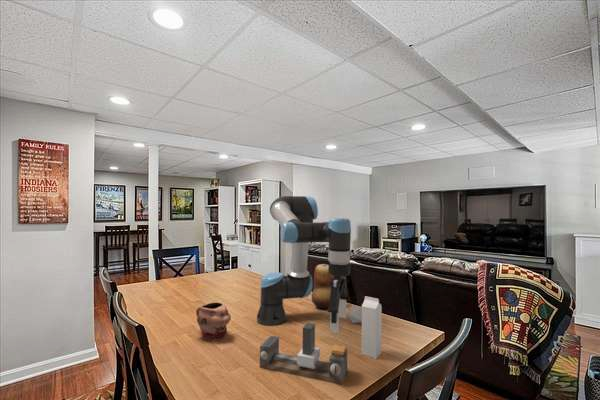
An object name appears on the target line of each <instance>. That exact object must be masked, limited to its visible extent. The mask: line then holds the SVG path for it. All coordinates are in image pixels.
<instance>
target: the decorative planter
mask: <svg viewBox="0 0 600 400" xmlns="http://www.w3.org/2000/svg"><path fill="white" fill-rule="evenodd" d="M195 313H196V317H197V318H196V321H197V324H198V326H199V329H200V333H201V336H202V338H203V339H205V340H207V341H218V340H221V339H223V338H225V337H226V335H227V331H228V330H227V325H228V324H229V323H230V321H231V318H232V316H231V314H230V313H229V310H228V308H227V305H226V304H223V303H221V302H210V303H205V304H203V305H200V306H198V307H197V308H196V310H195Z"/></svg>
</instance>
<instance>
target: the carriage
mask: <svg viewBox="0 0 600 400" xmlns="http://www.w3.org/2000/svg"><path fill="white" fill-rule="evenodd" d="M320 353H321V348H320V347H316V324H315V323H312V322H306V323H305V325H304V326H303V327H302V348H301V349H300V351H299V352H298V353H297V355H296V356H297V364H298V366H301V367H306V368H311V369H315V368H316V362H317V361H320V359H319V358H320V356H321V354H320Z"/></svg>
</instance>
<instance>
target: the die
mask: <svg viewBox="0 0 600 400" xmlns="http://www.w3.org/2000/svg"><path fill="white" fill-rule="evenodd" d="M348 317H349V319H350V322H351V323H352V324H362V305H361V306H360V305H359V306H357V305H352V306H351V307H350V309H349V311H348Z"/></svg>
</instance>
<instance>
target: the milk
mask: <svg viewBox="0 0 600 400" xmlns="http://www.w3.org/2000/svg"><path fill="white" fill-rule="evenodd" d="M382 306H383V305H382V304H381V303H380V299H379V298H376V297H371V296H367V295H366V296H364V300H363V303H362V304H361V307H362V323H361V355H363V356H366V357H370V358H371V359H375V360H376V359H377V358H378V357H379V356H380V355H381V354H382V352H383V351H382V348H383V347H382V341H383V340H382V326H383V325H382V313H383V312H382Z"/></svg>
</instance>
